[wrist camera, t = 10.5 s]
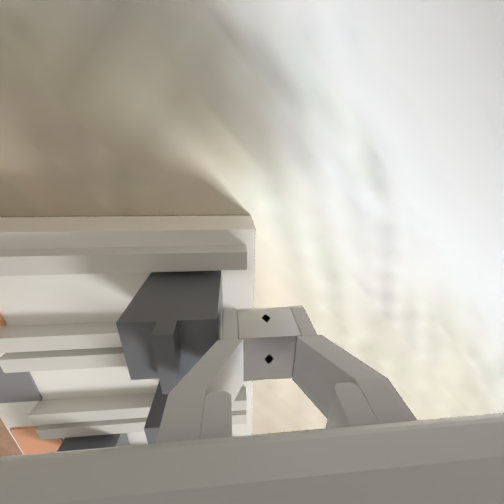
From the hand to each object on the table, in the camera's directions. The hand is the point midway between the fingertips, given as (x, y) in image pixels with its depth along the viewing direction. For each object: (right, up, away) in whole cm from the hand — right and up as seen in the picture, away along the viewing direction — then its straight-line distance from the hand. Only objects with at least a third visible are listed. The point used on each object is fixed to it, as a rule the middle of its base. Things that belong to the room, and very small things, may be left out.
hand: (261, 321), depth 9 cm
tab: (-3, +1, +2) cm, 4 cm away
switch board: (-8, -3, +6) cm, 10 cm away
